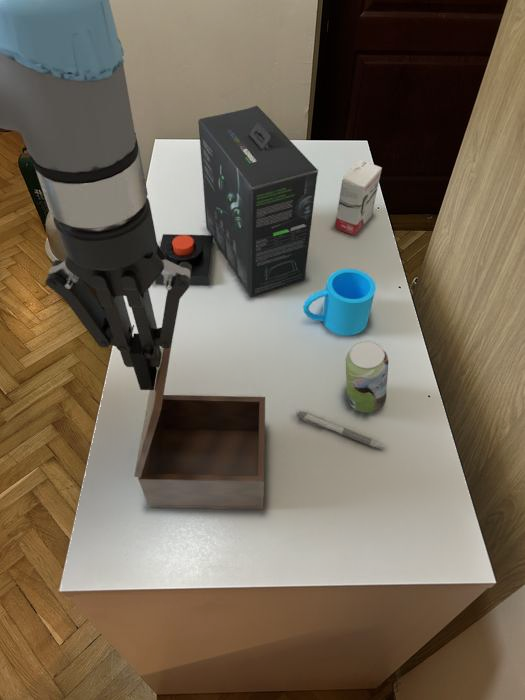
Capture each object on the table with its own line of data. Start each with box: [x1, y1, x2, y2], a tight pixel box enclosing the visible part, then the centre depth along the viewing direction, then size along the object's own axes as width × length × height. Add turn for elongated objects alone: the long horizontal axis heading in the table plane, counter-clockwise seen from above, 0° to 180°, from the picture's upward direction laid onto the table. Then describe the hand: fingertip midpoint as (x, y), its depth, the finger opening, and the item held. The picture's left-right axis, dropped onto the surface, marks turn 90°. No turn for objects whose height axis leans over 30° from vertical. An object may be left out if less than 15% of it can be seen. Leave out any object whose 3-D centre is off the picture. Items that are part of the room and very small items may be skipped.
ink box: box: [334, 159, 383, 236], centre depth 108 cm, size 9×5×12 cm, turn 147°
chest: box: [137, 394, 266, 511], centre depth 73 cm, size 16×13×9 cm
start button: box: [172, 234, 194, 255], centre depth 100 cm, size 4×4×2 cm
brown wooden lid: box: [133, 346, 172, 478], centre depth 63 cm, size 16×13×1 cm
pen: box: [295, 410, 385, 449], centre depth 80 cm, size 1×14×1 cm, turn 65°
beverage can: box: [345, 340, 389, 413], centre depth 79 cm, size 6×7×12 cm
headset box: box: [197, 105, 319, 298], centre depth 95 cm, size 22×12×26 cm, turn 26°
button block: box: [154, 233, 215, 286], centre depth 102 cm, size 10×12×4 cm
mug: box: [302, 268, 377, 337], centre depth 91 cm, size 12×8×8 cm
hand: (148, 380), depth 60 cm, fingers closed
